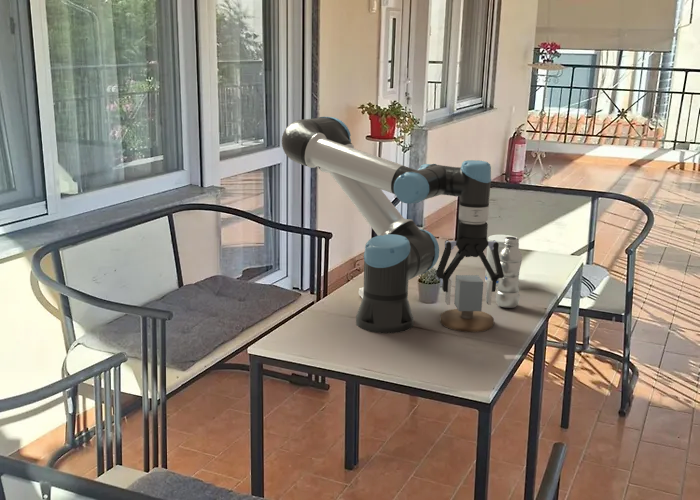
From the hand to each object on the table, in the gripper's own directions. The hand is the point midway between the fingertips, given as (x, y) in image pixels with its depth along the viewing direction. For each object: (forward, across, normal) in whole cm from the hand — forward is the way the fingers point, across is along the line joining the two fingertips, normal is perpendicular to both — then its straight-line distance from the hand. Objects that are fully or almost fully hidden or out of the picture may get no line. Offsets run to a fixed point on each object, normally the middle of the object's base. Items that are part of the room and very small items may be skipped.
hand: (467, 303), depth 209 cm
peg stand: (+5, 0, 0) cm, 5 cm away
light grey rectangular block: (+1, 0, 0) cm, 1 cm away
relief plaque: (+6, -21, +18) cm, 28 cm away
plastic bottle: (+6, +14, +13) cm, 20 cm away
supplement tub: (+6, +18, +35) cm, 40 cm away
